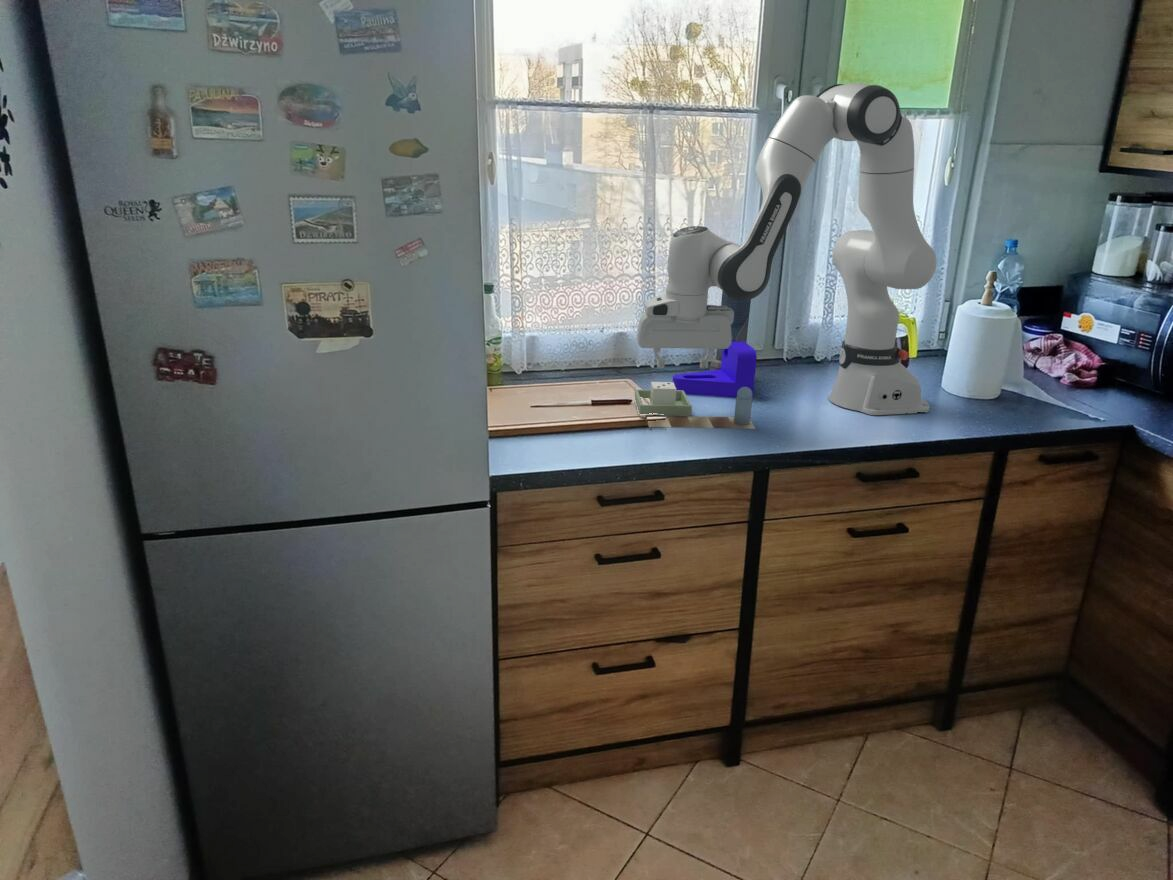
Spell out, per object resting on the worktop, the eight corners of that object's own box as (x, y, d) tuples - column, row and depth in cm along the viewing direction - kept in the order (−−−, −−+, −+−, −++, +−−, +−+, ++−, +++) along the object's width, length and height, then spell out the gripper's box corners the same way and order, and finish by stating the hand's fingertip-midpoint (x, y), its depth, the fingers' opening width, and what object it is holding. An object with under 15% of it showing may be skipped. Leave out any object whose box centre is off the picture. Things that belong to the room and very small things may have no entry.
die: (671, 403, 199) (673, 381, 197) (674, 410, 194) (676, 388, 192) (649, 402, 198) (651, 380, 197) (652, 410, 194) (653, 387, 192)
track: (748, 419, 192) (748, 417, 192) (755, 431, 185) (755, 428, 185) (645, 418, 190) (646, 415, 190) (649, 429, 184) (650, 426, 184)
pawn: (747, 420, 190) (751, 384, 187) (751, 425, 187) (755, 389, 184) (732, 419, 190) (735, 384, 187) (735, 425, 187) (739, 389, 184)
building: (709, 384, 215) (720, 261, 205) (706, 373, 224) (717, 255, 213) (751, 386, 215) (764, 263, 204) (746, 375, 224) (759, 257, 213)
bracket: (736, 386, 216) (741, 339, 211) (752, 400, 206) (757, 351, 201) (665, 387, 212) (669, 339, 208) (677, 401, 202) (681, 352, 198)
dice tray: (682, 402, 202) (683, 390, 201) (690, 418, 191) (691, 406, 190) (634, 401, 201) (634, 389, 200) (639, 417, 191) (640, 405, 190)
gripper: (731, 302, 190) (726, 363, 195) (637, 301, 189) (635, 362, 194) (737, 308, 184) (732, 371, 189) (640, 307, 183) (637, 371, 188)
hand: (682, 367), depth 192 cm, fingers open, 8 cm apart
